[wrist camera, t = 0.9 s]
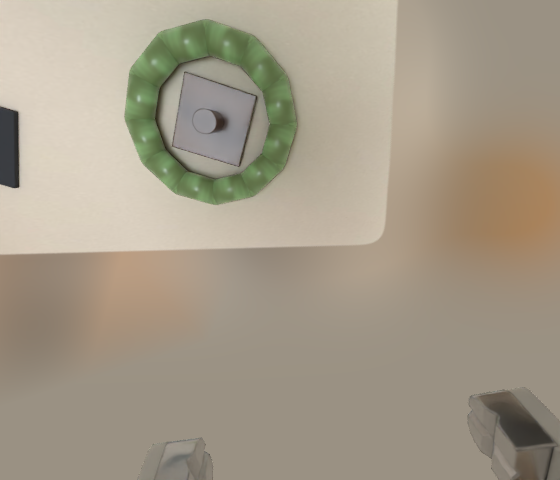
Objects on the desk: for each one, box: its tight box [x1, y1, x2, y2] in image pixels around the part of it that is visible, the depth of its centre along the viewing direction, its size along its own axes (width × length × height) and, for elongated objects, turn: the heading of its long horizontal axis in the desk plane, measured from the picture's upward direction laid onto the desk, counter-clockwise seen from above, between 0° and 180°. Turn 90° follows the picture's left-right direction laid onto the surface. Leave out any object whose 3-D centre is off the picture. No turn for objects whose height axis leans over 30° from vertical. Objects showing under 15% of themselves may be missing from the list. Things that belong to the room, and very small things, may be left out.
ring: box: [125, 19, 297, 205], centre depth 33 cm, size 18×18×3 cm
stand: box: [172, 72, 257, 167], centre depth 32 cm, size 8×8×6 cm
